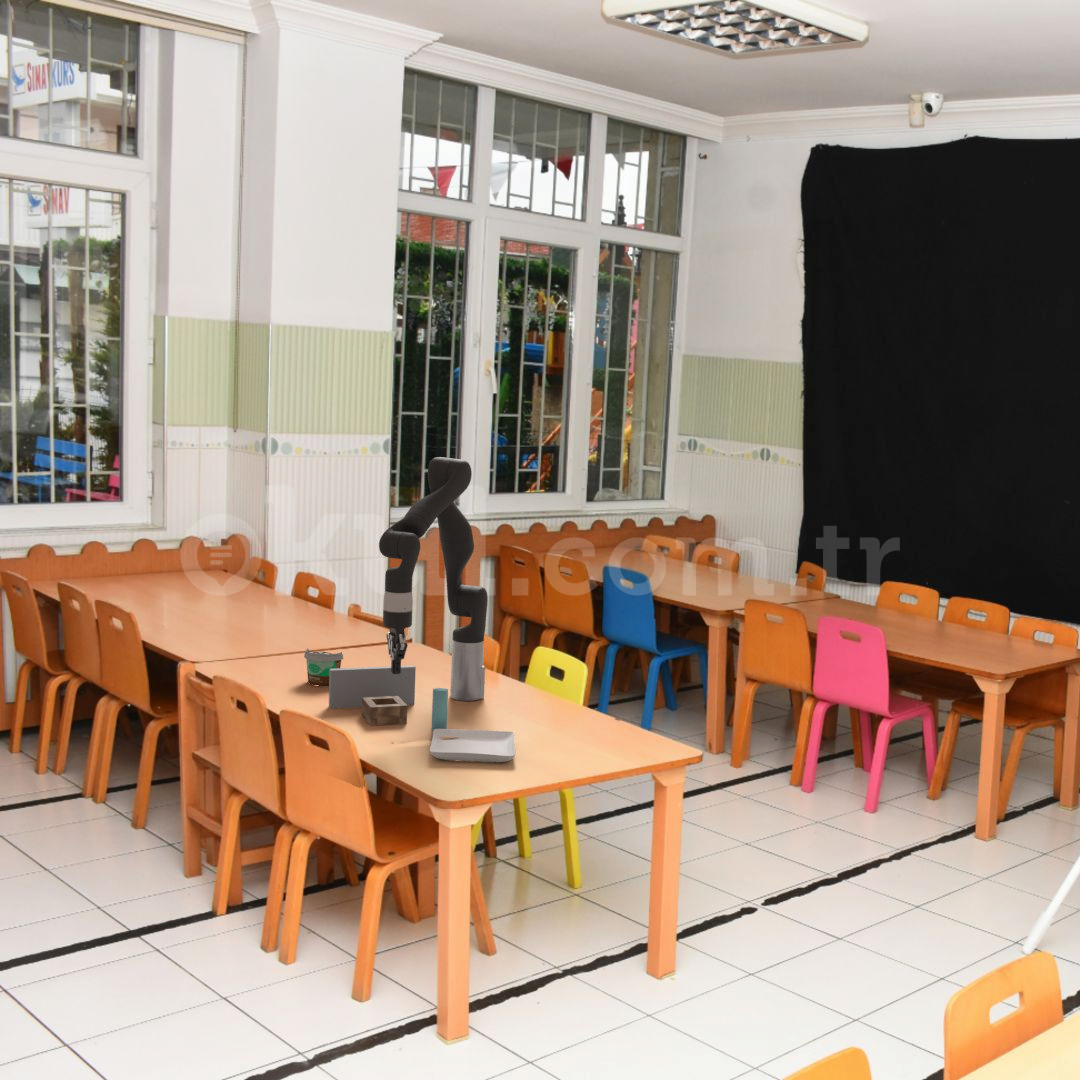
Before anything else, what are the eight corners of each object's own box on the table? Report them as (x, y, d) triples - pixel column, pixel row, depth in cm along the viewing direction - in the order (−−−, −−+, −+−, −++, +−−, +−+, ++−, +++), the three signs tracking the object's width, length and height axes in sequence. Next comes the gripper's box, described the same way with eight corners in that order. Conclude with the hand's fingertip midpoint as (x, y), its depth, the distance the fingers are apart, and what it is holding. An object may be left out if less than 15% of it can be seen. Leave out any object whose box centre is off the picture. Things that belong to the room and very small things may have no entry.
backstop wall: (412, 706, 370) (413, 665, 369) (414, 708, 369) (415, 666, 367) (328, 710, 362) (329, 668, 360) (330, 712, 360) (331, 670, 358)
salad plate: (513, 742, 342) (514, 729, 341) (514, 768, 321) (515, 754, 320) (432, 739, 341) (433, 727, 341) (428, 765, 320) (429, 751, 320)
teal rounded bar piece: (444, 731, 348) (445, 687, 346) (448, 735, 344) (449, 691, 342) (429, 732, 346) (431, 688, 345) (433, 736, 343) (435, 692, 341)
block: (397, 713, 358) (398, 695, 358) (406, 723, 349) (407, 705, 348) (361, 715, 355) (362, 697, 354) (370, 725, 346) (370, 707, 345)
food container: (296, 684, 389) (296, 651, 387) (305, 680, 394) (306, 647, 393) (333, 689, 385) (334, 656, 384) (342, 684, 391) (343, 652, 389)
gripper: (418, 612, 332) (416, 679, 335) (405, 602, 345) (403, 666, 347) (389, 613, 330) (387, 680, 332) (377, 603, 342) (375, 668, 344)
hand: (395, 673), depth 340 cm, fingers closed
